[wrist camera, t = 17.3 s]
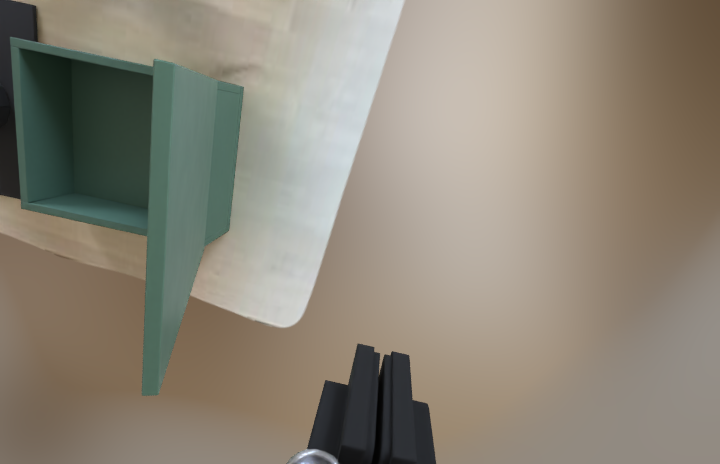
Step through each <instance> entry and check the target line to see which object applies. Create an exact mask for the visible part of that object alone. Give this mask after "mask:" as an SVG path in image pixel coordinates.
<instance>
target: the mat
mask: <svg viewBox="0 0 720 464" xmlns="http://www.w3.org/2000/svg"><path fill="white" fill-rule="evenodd" d="M10 37H14V38H18V39H23V40H28V41H33V42H37V22H36V6H34V5H30V4H25V3H20V2H16V1H11V0H0V85H1V86H3V87H4V88H3V89H5V92H6V94H7V97H8V100H9V103H10V106H11V109H10V113H9V117H8V121H7V123H6V124H5V125H3V126H1V127H0V195H4V196H8V197H13V198H17V199H21V194H20V179H19V164H18V149H17V135H16V120H15V105H14V90H13V75H12V60H11V45H10Z"/></svg>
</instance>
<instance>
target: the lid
mask: <svg viewBox="0 0 720 464" xmlns="http://www.w3.org/2000/svg"><path fill="white" fill-rule="evenodd" d="M217 88H218V80H215V79H213V78H210V77H208V76H205V75H203V74H200V73H198V72H195V71H193V70H190V69H187V68H185V67H182V66H180V65H177V64H175V63H171V62H167V61H162V60H158V59H154V64H153V92H152V120H151V148H150V177H149V205H148V233H147V261H146V290H145V291H146V292H145V319H144V346H143V374H142V395H143V396H147V395H148V396H149V395H158V394H159V391H160V388H161V385H162V381H163V378H164V375H165V372H166V369H167V366H168V363H169V359H170V355H171V353H172V349H173V346H174V343H175V340H176V337H177V334H178V331H179V328H180V324H181V321H182V318H183V315H184V312H185V308H186V305H187V302H188V299H189V296H190V293H191V290H192V286H193V283H194V280H195V277H196V274H197V271H198V267H199V264H200V261H201V258H202V255H203V251H204V244H205V232H206V220H207V208H208V196H209V184H210V172H211V160H212V148H213V136H214V124H215V112H216V100H217Z"/></svg>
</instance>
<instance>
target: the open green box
mask: <svg viewBox="0 0 720 464" xmlns="http://www.w3.org/2000/svg"><path fill="white" fill-rule="evenodd" d="M10 45H11V60H12V75H13V90H14V105H15V120H16V135H17V149H18V164H19V179H20V194H21V209H26V210H30V211H35V212H39V213H44V214H48V215H53V216H57V217H62V218H66V219H71V220H76V221H80V222H85V223H89V224H94V225H98V226H103V227H107V228H112V229H116V230H121V231H125V232H130V233H135V234H139V235H144V236H147V233H148V205H149V177H150V148H151V120H152V92H153V67H151V66H147V65H142V64H137V63H132V62H128V61H123V60H118V59H113V58H109V57H104V56H99V55H94V54H90V53H85V52H80V51H75V50H71V49H66V48H61V47H56V46H52V45H47V44H42V43H37V42H33V41H28V40H23V39H18V38H14V37H10ZM243 89H244V87H242V86H238V85H234V84H230V83H226V82H222V81H218V88H217V100H216V112H215V124H214V136H213V148H212V160H211V172H210V184H209V196H208V208H207V220H206V232H205V244H204V247H205V246H206V245H208V244H209V243H211V242H212V241H214V240H215V239H217V238H218V237H220V236H221V235H223V234H224V233H226V232H227V231H229V225H230V216H231V206H232V196H233V186H234V177H235V167H236V157H237V147H238V138H239V128H240V118H241V108H242V99H243Z"/></svg>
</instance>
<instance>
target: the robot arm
mask: <svg viewBox="0 0 720 464" xmlns="http://www.w3.org/2000/svg"><path fill="white" fill-rule="evenodd" d="M379 360H380V353H376V352H374V347H371V346H367V345H362V344H358V345H357V349H356V353H355V358H354V362H353V366H352V371H351V375H350V379H349V384H348V385H345V384H340V383H335V382H331V381H327V380H326V381H325V384H324V388H323V391H322V395H321V399H320V403H319V406H318V410H317V414H316V417H315V421H314V425H313V429H312V433H311V436H310V440H309V444H308V447H307V450H304V451H301V452H298V453H297V454H296V455H294V456H293V457H291V459H290V460H289V461H288V462H287V464H436V460H435V452H434V445H433V436H432V429H431V421H430V413H429V407H428V404H426V403H423V402H418V401H414V400H412V387H411V373H410V360H409V355H406V354H402V353H397V352H393V351H392V352H391V355H390V356H389V355H384V359H383V362H382V366H381V370H380V374H379Z"/></svg>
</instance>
